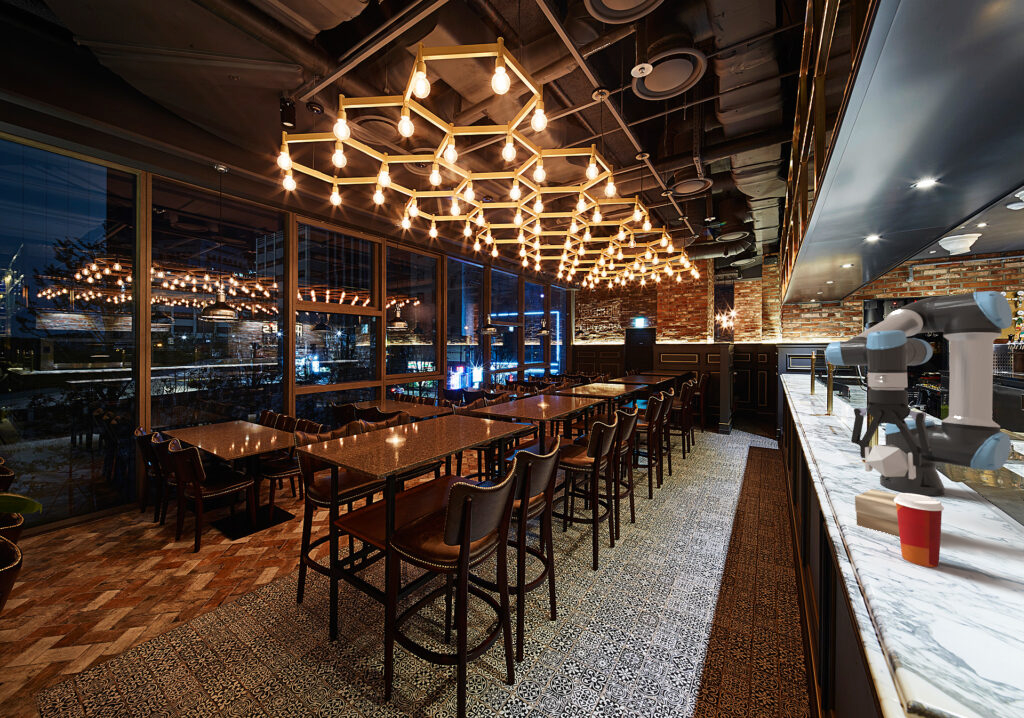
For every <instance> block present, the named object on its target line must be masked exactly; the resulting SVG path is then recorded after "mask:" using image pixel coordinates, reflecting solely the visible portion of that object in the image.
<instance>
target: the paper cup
mask: <svg viewBox="0 0 1024 718" xmlns="http://www.w3.org/2000/svg"><path fill="white" fill-rule="evenodd" d="M896 494H897V496H896V498H895V499H894V502H895V503H896V508H897V517H898V526H899V535H900V537H899V543H900V544H899V545H900V550H901V558H902V559H903V560H905V561H906V562H908V563H911V564H914V565H916V566H919V567H925V568H934V569H935V568H938V567H939V565H940V564H939V563H940V552H941V550H940V549H941V535H942V512H943V511H944V510H945V507H944V506H943V505H942V502H941V501H939V500H938V499H935V498H933V497H930V496H929V495H918V494H911V493H905V492H899V493H896Z"/></svg>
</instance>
